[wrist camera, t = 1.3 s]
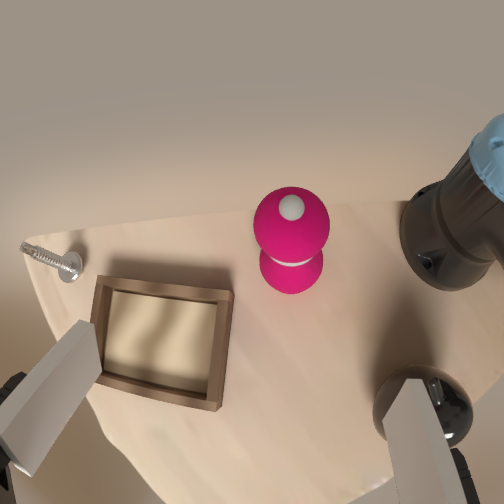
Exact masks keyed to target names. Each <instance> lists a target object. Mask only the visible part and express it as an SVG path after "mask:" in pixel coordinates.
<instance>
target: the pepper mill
mask: <svg viewBox="0 0 504 504" xmlns="http://www.w3.org/2000/svg"><path fill="white" fill-rule="evenodd" d="M253 226H254V233H255V237H256V240H257V242H258V244H259V246H260V247H261V248H262V249H261V253H260V270H261V273H262V275H263V277H264V279H265V280H266V282H267V283H268V284H269V285H270V286H272V287H273V288H274V289H276V290H278V291H280V292H282V293H286V294H296V293H300V292H302V291H304V290H306V289H308V288H310V287H311V286H312V285H313V284H314V283H315V282H316V281H317V280H318V278H319V276H320V274H321V272H322V267H323V254H322V250H321V249H322V248H323V246H324V245H325V243H326V241H327V238H328V235H329V230H330V220H329V215H328V212H327V210H326V207H325V206H324V204H323V202H322V201H321V200H320V199H319V198H318V197H317V196H316V195H314V194H313V193H312V192H310V191H308V190H306V189H303V188H299V187H284V188H281V189H278V190H275V191H273V192H271V193H270V194H268V195H267V196H266V197H265V198H264V199H263V200H262V201H261V203H260V204H259V206H258V208H257V210H256V213H255V216H254V224H253Z"/></svg>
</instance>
